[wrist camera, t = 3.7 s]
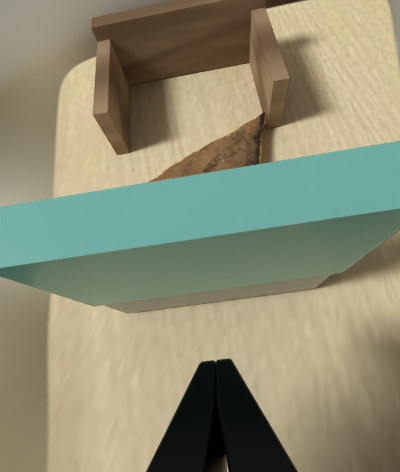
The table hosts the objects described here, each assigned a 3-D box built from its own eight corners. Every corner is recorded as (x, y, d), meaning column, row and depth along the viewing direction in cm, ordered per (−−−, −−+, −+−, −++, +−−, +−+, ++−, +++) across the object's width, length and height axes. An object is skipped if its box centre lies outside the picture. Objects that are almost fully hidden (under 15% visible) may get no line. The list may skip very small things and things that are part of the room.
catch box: (280, 126, 21) (292, 62, 16) (117, 154, 22) (85, 102, 17) (258, 51, 24) (263, -19, 20) (118, 78, 25) (91, 18, 21)
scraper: (323, 287, 16) (435, 203, 7) (118, 314, 17) (-19, 270, 8) (313, 254, 16) (402, 140, 8) (119, 281, 17) (-5, 207, 8)
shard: (263, 126, 22) (265, 107, 20) (331, 195, 19) (340, 179, 17) (143, 196, 21) (134, 182, 19) (194, 280, 18) (190, 273, 16)
